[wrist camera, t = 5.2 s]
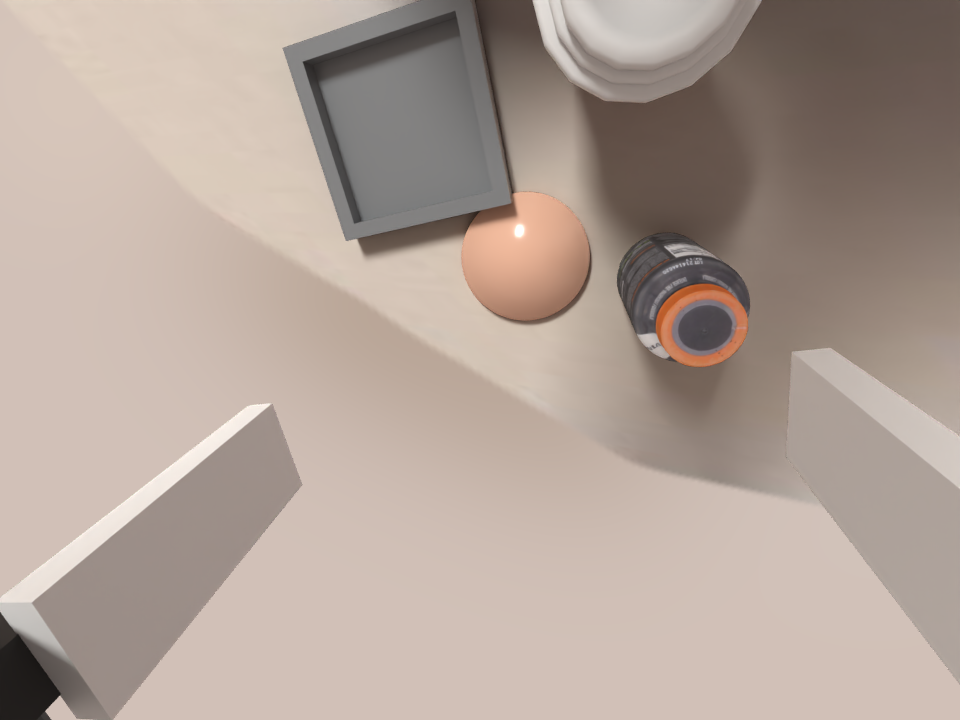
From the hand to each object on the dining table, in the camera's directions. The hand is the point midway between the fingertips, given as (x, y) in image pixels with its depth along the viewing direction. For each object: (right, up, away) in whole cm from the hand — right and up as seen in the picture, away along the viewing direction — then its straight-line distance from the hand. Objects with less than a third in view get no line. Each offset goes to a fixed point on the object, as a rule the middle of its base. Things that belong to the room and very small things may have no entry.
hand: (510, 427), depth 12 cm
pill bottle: (+12, +8, +21) cm, 25 cm away
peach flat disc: (+2, +9, +22) cm, 24 cm away
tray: (-6, +17, +20) cm, 27 cm away
